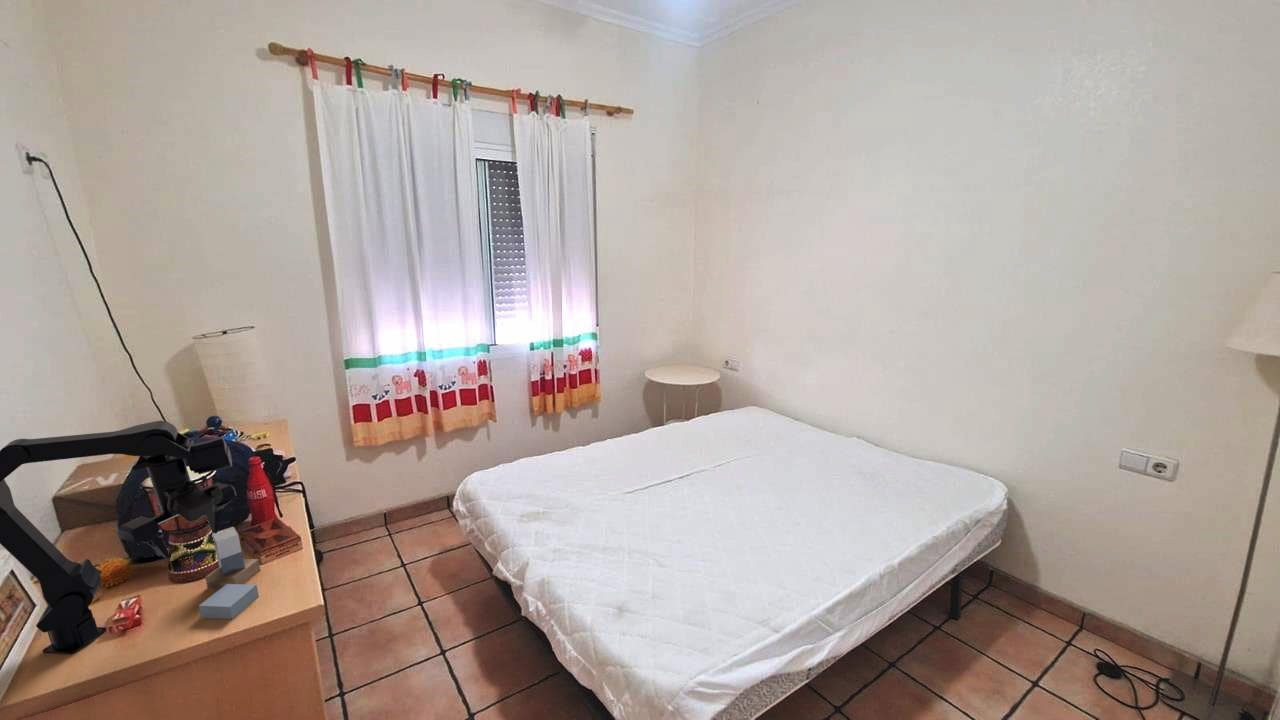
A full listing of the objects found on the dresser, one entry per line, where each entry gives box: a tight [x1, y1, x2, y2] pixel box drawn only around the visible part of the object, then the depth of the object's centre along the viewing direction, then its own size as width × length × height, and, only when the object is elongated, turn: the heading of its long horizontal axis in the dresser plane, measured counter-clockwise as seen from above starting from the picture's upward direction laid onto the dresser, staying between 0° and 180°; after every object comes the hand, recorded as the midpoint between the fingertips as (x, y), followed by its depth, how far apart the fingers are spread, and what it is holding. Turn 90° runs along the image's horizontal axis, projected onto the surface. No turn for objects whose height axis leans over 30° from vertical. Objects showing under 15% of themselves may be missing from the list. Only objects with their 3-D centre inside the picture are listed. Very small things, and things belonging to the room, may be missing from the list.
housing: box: [212, 526, 245, 576], centre depth 118 cm, size 4×5×9 cm
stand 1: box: [204, 558, 261, 590], centre depth 119 cm, size 7×7×3 cm
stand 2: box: [198, 583, 260, 620], centre depth 110 cm, size 7×7×3 cm
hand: (192, 545), depth 110 cm, fingers open, 9 cm apart
